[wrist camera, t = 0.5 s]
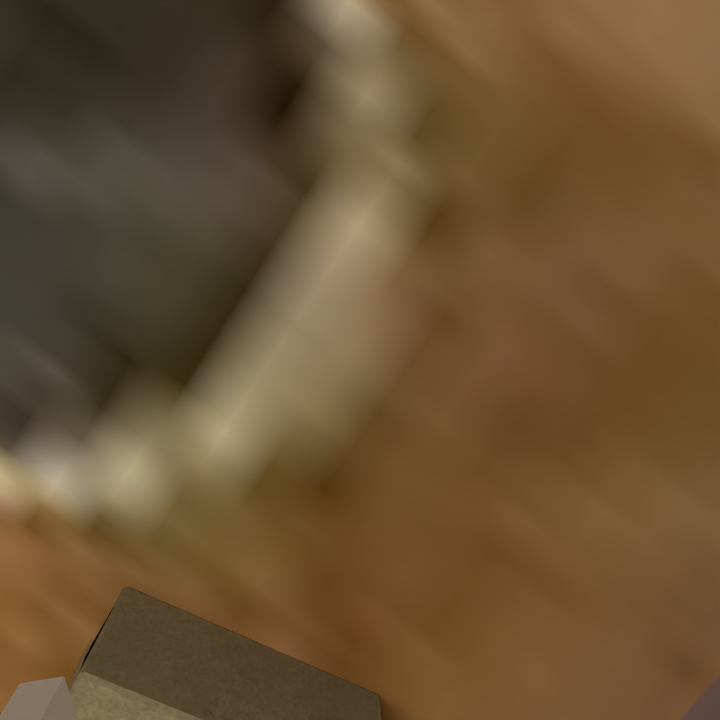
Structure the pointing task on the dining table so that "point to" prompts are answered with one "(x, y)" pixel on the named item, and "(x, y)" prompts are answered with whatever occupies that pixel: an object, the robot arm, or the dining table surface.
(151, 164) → the dining table surface
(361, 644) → the dining table surface
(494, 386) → the dining table surface
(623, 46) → the dining table surface
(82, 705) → the tissue box
